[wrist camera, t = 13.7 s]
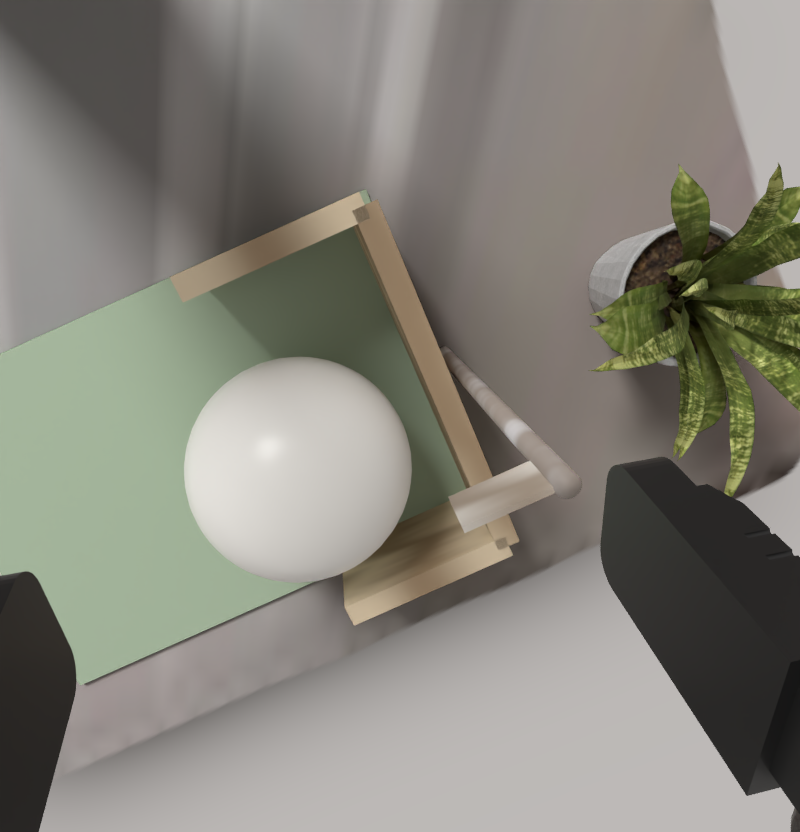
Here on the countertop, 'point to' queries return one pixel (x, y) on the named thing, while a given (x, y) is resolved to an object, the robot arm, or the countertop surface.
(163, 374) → the green mat
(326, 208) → the wooden u-shaped frame
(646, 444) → the countertop surface
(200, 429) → the ball
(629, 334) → the house plant
